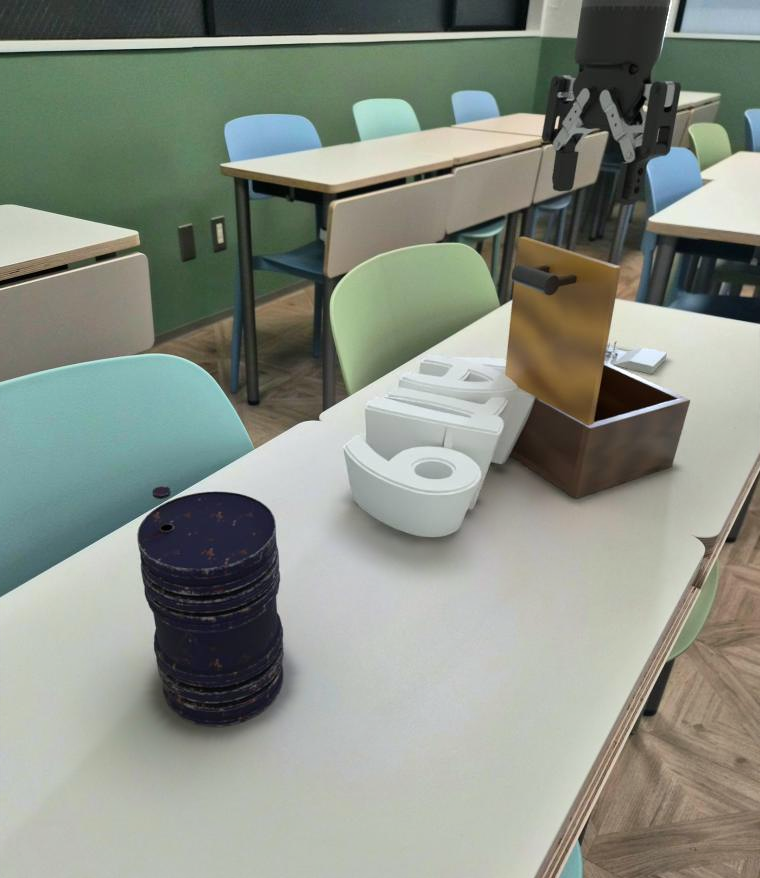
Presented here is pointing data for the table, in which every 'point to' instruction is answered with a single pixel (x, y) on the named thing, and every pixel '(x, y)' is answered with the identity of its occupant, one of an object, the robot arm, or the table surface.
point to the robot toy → (635, 358)
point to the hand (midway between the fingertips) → (592, 197)
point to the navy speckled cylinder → (214, 604)
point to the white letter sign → (435, 442)
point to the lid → (560, 326)
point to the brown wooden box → (605, 436)
